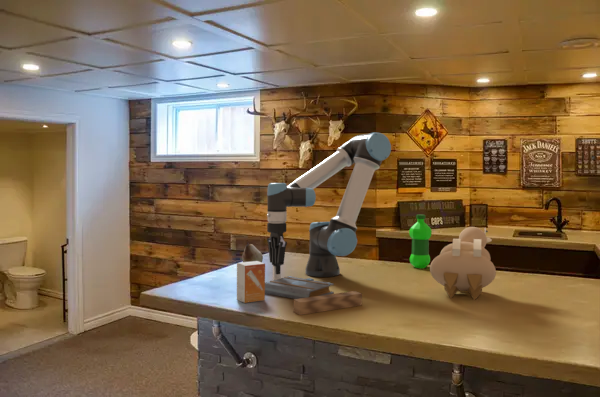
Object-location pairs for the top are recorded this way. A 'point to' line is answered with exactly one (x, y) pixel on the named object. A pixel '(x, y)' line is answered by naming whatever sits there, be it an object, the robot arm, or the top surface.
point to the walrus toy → (464, 264)
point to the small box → (250, 281)
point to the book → (297, 287)
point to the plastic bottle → (420, 243)
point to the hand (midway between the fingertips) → (276, 281)
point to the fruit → (251, 254)
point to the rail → (327, 302)
